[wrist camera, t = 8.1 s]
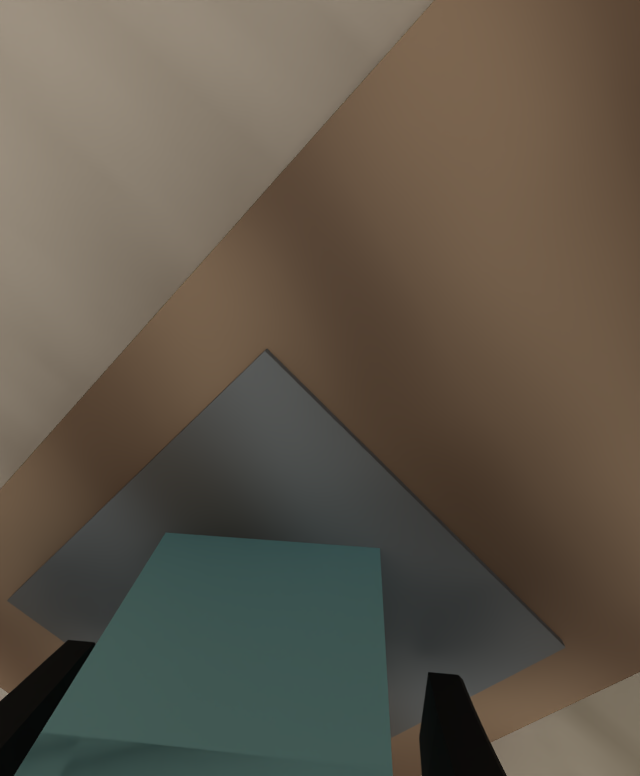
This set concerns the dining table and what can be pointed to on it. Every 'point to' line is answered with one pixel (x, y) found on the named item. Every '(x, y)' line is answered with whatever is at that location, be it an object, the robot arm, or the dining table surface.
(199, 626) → the teal cube crate
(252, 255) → the board
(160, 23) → the dining table surface
